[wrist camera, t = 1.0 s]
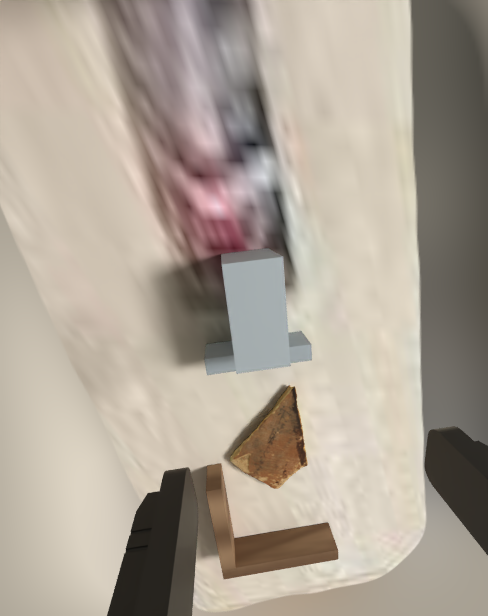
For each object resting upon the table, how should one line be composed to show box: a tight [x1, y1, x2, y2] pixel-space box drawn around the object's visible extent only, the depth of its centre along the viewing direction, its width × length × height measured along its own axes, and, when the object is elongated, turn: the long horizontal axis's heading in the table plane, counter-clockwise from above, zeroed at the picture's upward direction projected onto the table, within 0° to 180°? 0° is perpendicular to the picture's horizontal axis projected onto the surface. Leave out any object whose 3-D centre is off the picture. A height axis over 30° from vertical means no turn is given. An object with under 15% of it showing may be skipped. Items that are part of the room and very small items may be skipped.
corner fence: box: [206, 464, 338, 579], centre depth 31 cm, size 13×13×3 cm
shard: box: [230, 385, 307, 489], centre depth 30 cm, size 11×8×2 cm
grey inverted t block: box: [204, 248, 312, 375], centre depth 22 cm, size 10×9×6 cm
